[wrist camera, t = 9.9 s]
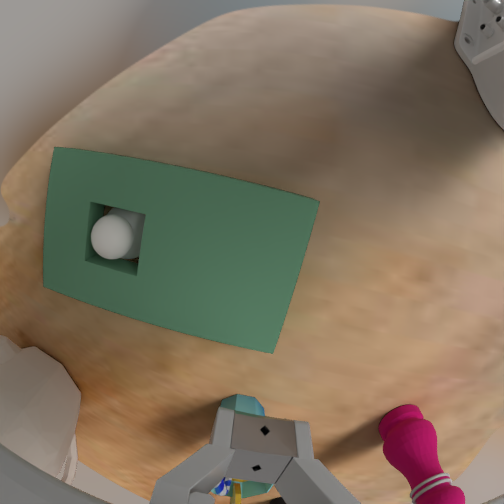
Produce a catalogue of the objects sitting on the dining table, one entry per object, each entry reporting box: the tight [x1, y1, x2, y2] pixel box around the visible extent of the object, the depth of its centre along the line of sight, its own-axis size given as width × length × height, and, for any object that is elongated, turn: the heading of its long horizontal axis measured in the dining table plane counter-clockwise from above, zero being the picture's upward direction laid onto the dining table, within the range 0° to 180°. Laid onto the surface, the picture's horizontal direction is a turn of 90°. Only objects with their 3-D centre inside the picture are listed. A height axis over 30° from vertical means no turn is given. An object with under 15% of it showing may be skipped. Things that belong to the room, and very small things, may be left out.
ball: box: [91, 214, 134, 259], centre depth 25 cm, size 4×4×4 cm
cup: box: [211, 394, 273, 504], centre depth 25 cm, size 14×8×15 cm, turn 8°
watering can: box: [0, 335, 81, 485], centre depth 23 cm, size 16×27×19 cm, turn 20°
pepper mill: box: [378, 405, 465, 504], centre depth 23 cm, size 7×7×20 cm
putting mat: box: [43, 147, 320, 354], centre depth 26 cm, size 14×24×3 cm, turn 76°
